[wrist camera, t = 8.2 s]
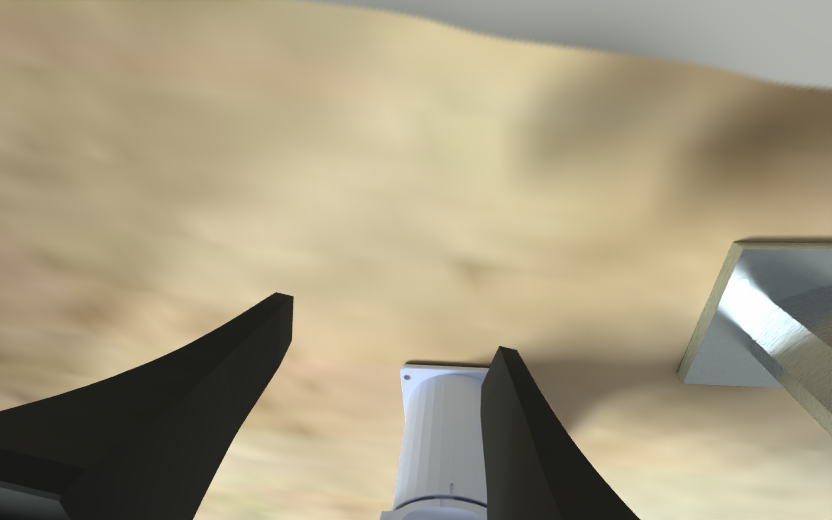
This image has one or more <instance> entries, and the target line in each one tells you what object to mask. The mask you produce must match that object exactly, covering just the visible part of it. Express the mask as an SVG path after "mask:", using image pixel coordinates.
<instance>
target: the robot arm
mask: <svg viewBox="0 0 832 520" xmlns="http://www.w3.org/2000/svg"><path fill="white" fill-rule="evenodd" d="M293 297H294V296H290V295H285V294H281V293H277V292H276V293H274V294H272V295H271V296H269V297H267V298H266V299H264V300H263V301H261V302H260V303H258V304H256V305H255V306H253V307H252V308H250V309H249V310H247V311H245V312H244V313H242V314H241V315H239V316H237V317H236V318H234V319H232V320H231V321H229V322H227V323H226V324H224V325H222V326H221V327H219V328H217V329H215V330H214V331H212V332H210V333H208V334H206V335H204V336H203V337H201V338H199V339H197V340H195V341H193V342H192V343H190V344H188V345H186V346H184V347H182V348H180V349H178V350H175V351H173V352H171V353H169V354H167V355H164V356H162V357H160V358H158V359H156V360H153V361H151V362H149V363H146V364H144V365H141V366H139V367H136V368H133V369H131V370H128V371H126V372H123V373H121V374H118V375H116V376H113V377H110V378H108V379H105V380H102V381H99V382H96V383H93V384H90V385H88V386H85V387H82V388H78V389H75V390H72V391H69V392H66V393H63V394H60V395H56V396H53V397H50V398H46V399H43V400H39V401H36V402H32V403H28V404H25V405H21V406H17V407H14V408H10V409H7V410H3V411H0V520H193V518H194V516H195V514H196V512H197V510H198V508H199V506H200V504H201V501H202V499H203V497H204V495H205V493H206V491H207V489H208V487H209V485H210V483H211V481H212V479H213V477H214V475H215V473H216V471H217V469H218V468H219V466H220V464H221V462H222V460H223V458H224V456H225V454H226V452H227V450H228V448H229V446H230V445H231V443H232V441H233V439H234V437H235V435H236V434H237V432H238V430H239V429H240V427H241V425H242V424H243V422H244V421H245V419H246V417H247V416H248V414H249V413H250V411H251V410H252V408H253V407H254V405H255V404H256V402H257V400H258V399H259V397H260V396H261V394H262V393H263V391H264V390H265V388H266V387H267V385H268V383H269V382H270V380H271V379H272V377H273V376H274V374H275V372H276V371H277V369H278V368H279V366H280V364H281V362H282V360H283V358H284V356H285V354H286V352H287V350H288V347H289V345H290V343H291V341H292V322H293ZM400 375H401V384H402V394H403V403H404V413H405V426H404V432H403V439H402V445H401V451H400V458H399V464H398V470H397V477H396V483H395V489H394V496H393V502H392V508H391V511H382V512H381V516H380V520H640V519H639V518H638V517H637V516H636V515H635V514H634V513H633V512H632V510H631V509H630V508H629V507H628V506H627V505H626V504H625V503H624V502H623V501H622V500H621V499H620V497H619V496H618V495H617V494H616V493H615V492H614V491H613V490H612V488H611V487H610V486H609V485H608V484H607V483H606V482H605V480H604V479H603V478H602V477H601V476H600V475H599V473H598V472H597V471H596V470H595V469H594V467H593V466H592V465H591V464H590V462H589V461H588V460H587V458H586V457H585V456H584V455H583V453H582V452H581V451H580V449H579V448H578V447H577V446H576V444H575V443H574V442H573V440H572V439H571V437H570V436H569V435H568V433H567V432H566V430H565V429H564V427H563V426H562V424H561V423H560V421H559V420H558V419H557V417H556V416H555V414H554V412H553V411H552V409H551V408H550V406H549V405H548V403H547V401H546V400H545V398H544V396H543V395H542V393H541V391H540V390H539V388H538V386H537V385H536V383H535V381H534V379H533V378H532V376H531V374H530V372H529V371H528V369H527V367H526V365H525V364H524V362H523V360H522V358H521V357H520V355H519V353H518V351H517V350H514V349H510V348H506V347H502V346H499V348H498V350H497V352H496V354H495V357H494V359H493V361H492V363H491V366H490V368H476V367H454V366H433V365H411V364H405V365H402V367H401V370H400ZM406 375H409V376H406Z"/></svg>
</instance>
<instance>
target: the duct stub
mask: <svg viewBox="0 0 832 520" xmlns="http://www.w3.org/2000/svg"><path fill="white" fill-rule="evenodd" d="M822 286H823V287H828V288H832V243H795V242H733V244H732V246H731V249H730V251H729V253H728V256H727V258H726V260H725V263H724V265H723V267H722V270H721V272H720V274H719V277H718V279H717V281H716V284H715V286H714V288H713V291H712V293H711V295H710V298H709V300H708V302H707V305H706V307H705V309H704V312H703V314H702V316H701V318H700V321H699V323H698V325H697V328H696V330H695V332H694V335H693V337H692V339H691V342H690V344H689V346H688V349H687V351H686V353H685V356H684V358H683V360H682V363H681V365H680V367H679V370H678V372H677V375H678V377H679V378H680V380H681V381H682V383H684V384H704V385H725V386H745V387H766V388H784V387H783V386H782V385H781V384H780V383H779V382H778V381H777V380H776V379H775V378H774V377H773V376H772V375H771V374H770V373H769V372H768V371H767V370H766V369H765V368H764V367H763V366H762V365H761V364H760V363H759V362H758V361H757V360H756V358H755V357H754V355H753V352H752V349H751V345H750V342H749V339H748V336H747V333H746V332H747V331H748V330H749V329H750V328H751V327H752V325H753V324H754V323H755V322H756V321H757V320H758V319H759V318H760V317H761V315H762V314H763V313H764V312H765V311H766V310H767V309H768V308H769V307H770V306H771V304H772V303H774V302H777V301H780V300H783V299H786V298H789V297H792V296H795V295H798V294H801V293H804V292H807V291H810V290H813V289H816V288H819V287H822Z"/></svg>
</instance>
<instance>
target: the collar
mask: <svg viewBox="0 0 832 520" xmlns="http://www.w3.org/2000/svg"><path fill="white" fill-rule="evenodd" d="M746 333H747V336H748V339H749V342H750V345H751V349H752V352H753V355H754V357H755V358H756V360H757V361H758V362H759V363H760V364H761V365H762V366H763V367H764V368H765V369H766V370H767V371H768V372H769V373H770V374H771V375H772V376H773V377H774V378H775V379H776V380H777V381H778V382H779V383H780V384H781V385H782V386H783V387H784V388H785V389H786V390H787V391H788V392H789V393H790V394H791V395H792V396H793V397H794V398H795V399H796V400H797V401H798V402H799V403H800V404H801V405H802V406H803V407H804V408H805V409H806V410H807V411H808V412H809V413H810V414H811V415H812V416H813V417H814V418H815V419H816V420H817V421H818V423H819V424H820V425H821V426H822V427H823V428H824V429H825V430H826V431H827V432H828V433H829V434H830V435H831V436H832V288H828V287H823V286H822V287H819V288H816V289H813V290H810V291H807V292H804V293H801V294H798V295H795V296H792V297H789V298H786V299H783V300H780V301H777V302H774V303H772V304H771V306H770V307H769V308H768V309H767V310H766V311H765V312H764V313H763V314H762V315H761V317H760V318H759V319H758V320H757V321H756V322H755V323H754V324H753V325H752V327H751V328H750V329H749V330H748V331H747V332H746Z"/></svg>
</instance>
